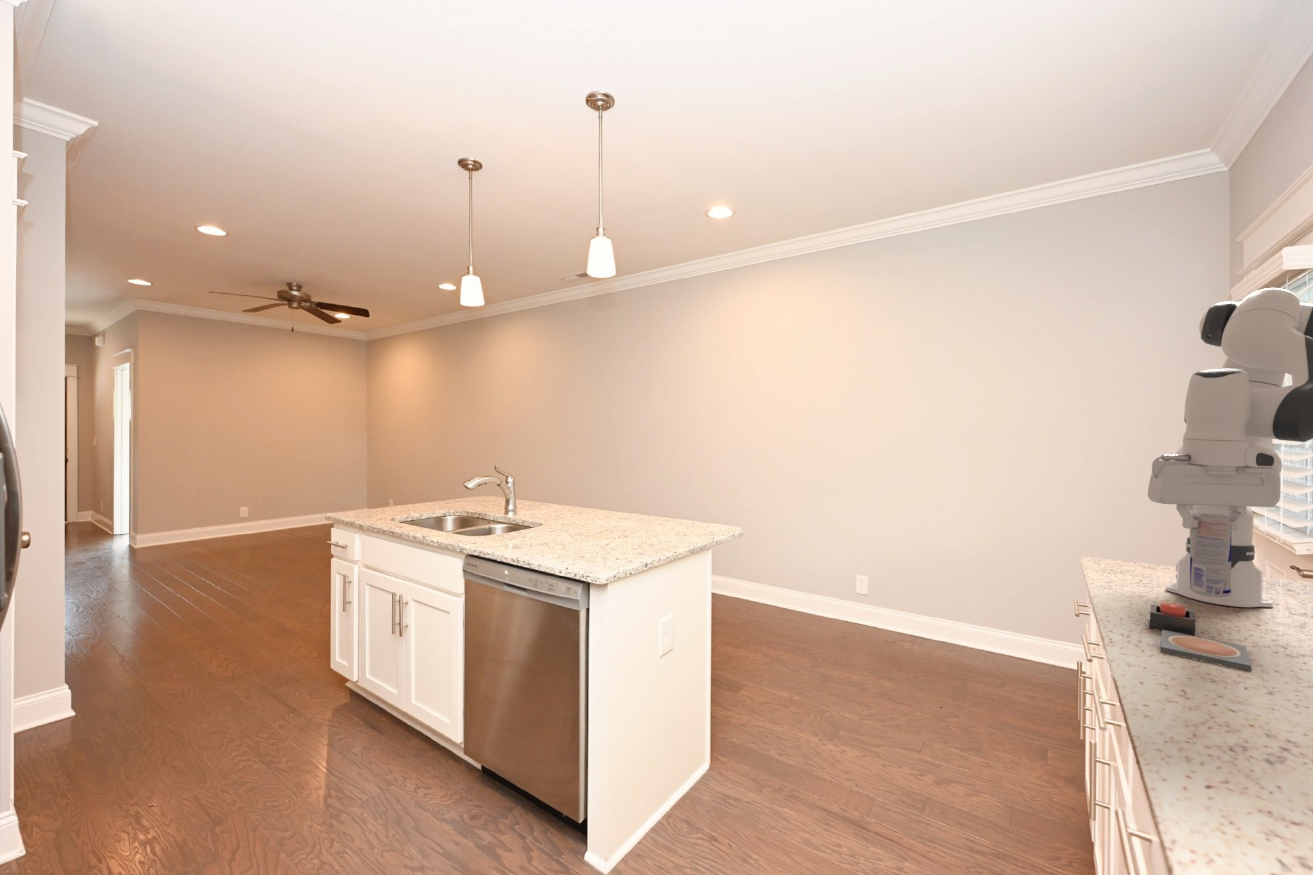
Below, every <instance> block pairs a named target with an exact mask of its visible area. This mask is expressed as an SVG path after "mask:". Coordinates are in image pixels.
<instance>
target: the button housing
mask: <svg viewBox="0 0 1313 875" xmlns="http://www.w3.org/2000/svg"><path fill="white" fill-rule="evenodd" d="M1196 621H1197V618H1196V611H1193V610H1187V609H1186V615H1185V617H1181V616H1175V615H1169V614H1164V613H1160V605H1157V604H1153V603H1152V604H1151V605H1150V611H1149V629H1151V630H1154V629H1157V630H1156V631H1159V630H1160V631H1159V632H1162V630H1167V631H1172V632H1177V633H1182V634H1187V635H1193V636H1196V624H1197V623H1196Z"/></svg>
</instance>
